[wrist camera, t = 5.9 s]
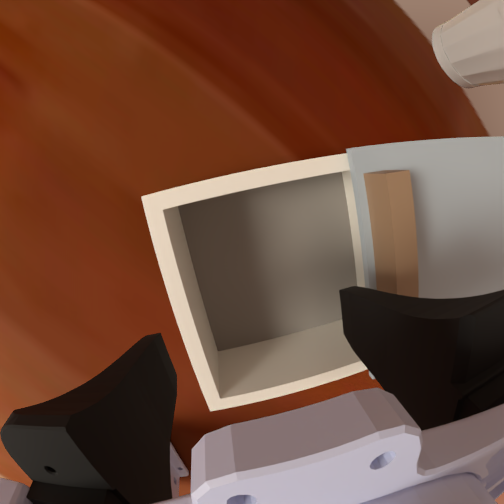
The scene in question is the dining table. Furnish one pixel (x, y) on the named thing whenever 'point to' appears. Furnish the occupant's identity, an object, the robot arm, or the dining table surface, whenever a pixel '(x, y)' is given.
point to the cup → (473, 45)
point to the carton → (261, 276)
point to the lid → (431, 216)
